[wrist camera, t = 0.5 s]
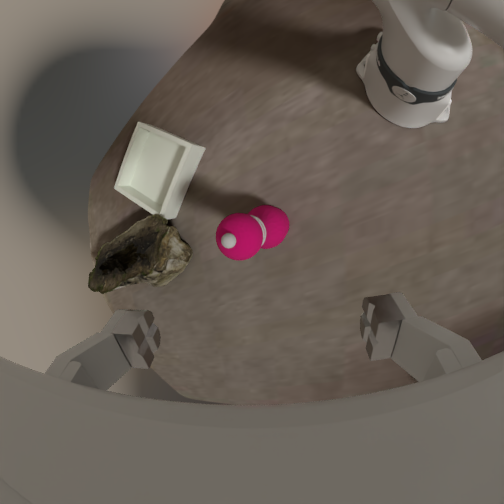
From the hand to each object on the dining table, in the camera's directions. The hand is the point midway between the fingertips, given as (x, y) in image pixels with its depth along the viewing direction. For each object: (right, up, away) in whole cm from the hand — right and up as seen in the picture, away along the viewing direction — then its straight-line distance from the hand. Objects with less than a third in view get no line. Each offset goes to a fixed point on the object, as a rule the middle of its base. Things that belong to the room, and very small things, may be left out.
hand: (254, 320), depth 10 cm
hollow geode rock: (-24, +2, +51) cm, 56 cm away
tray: (-19, +21, +45) cm, 53 cm away
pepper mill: (+4, +8, +39) cm, 40 cm away
